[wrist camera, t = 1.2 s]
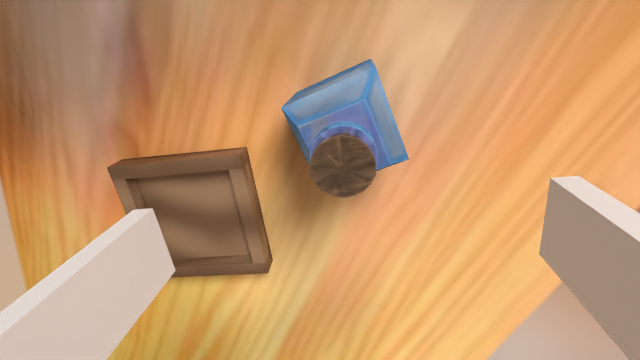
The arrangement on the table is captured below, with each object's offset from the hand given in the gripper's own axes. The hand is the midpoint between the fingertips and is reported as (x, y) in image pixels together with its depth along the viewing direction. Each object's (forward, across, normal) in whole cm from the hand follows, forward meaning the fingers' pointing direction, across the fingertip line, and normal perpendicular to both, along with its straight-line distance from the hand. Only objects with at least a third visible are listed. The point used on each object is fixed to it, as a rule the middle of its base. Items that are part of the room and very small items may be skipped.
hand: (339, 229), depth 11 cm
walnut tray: (+17, -15, -8) cm, 24 cm away
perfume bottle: (+17, 0, 0) cm, 17 cm away
